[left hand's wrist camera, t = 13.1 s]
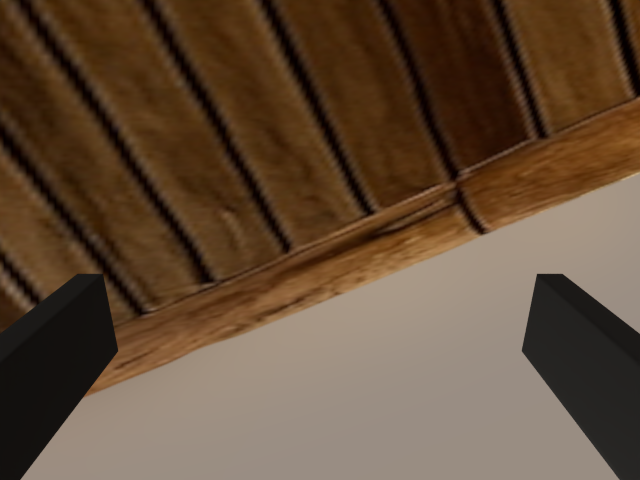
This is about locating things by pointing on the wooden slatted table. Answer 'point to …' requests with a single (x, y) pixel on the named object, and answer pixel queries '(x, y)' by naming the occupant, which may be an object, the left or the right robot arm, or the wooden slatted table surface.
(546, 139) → the wooden slatted table surface
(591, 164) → the wooden slatted table surface
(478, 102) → the wooden slatted table surface
